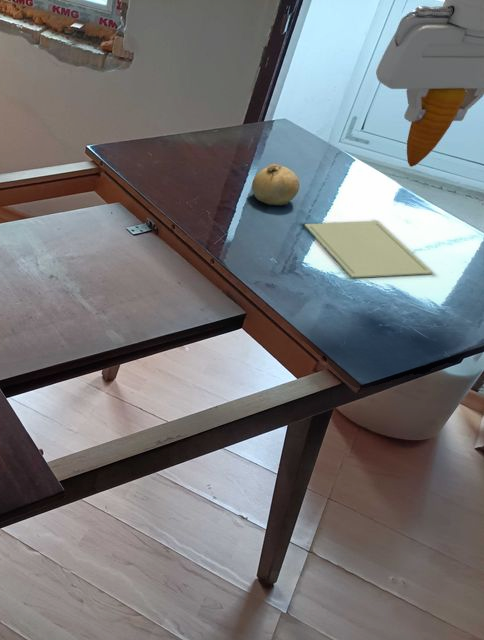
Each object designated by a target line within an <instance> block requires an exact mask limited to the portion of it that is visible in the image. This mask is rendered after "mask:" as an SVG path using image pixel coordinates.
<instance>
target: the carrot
mask: <svg viewBox="0 0 484 640" xmlns="http://www.w3.org/2000/svg"><path fill="white" fill-rule="evenodd" d="M465 96H466V91H465V89H429V90H428V92H427V95H426V96H425V97H421V104H422V107H424V108H425V109H427V110H426V112H425V115H423V119H422V121H418V122H410V127H409V131H408V135H407V140H406V159H407V163H408V166H409V167H411V168H413V167H414V166H415V167H416V166H417V165H418V164H419V163H420V162H421V161H423V160H424V159H425V158H427V156H429V154H430V153H431V152H432V151H433V150H434V149H435V148H436V147H437V145H438V144H439V143H440V142H441V140H442V138H443V137H444V136H445V134H446V133H447V131H448V130H449V128H450V127H451V125H452V124H453V122H454V121H453V120H454V118H455V116H456V114H457V112H458V110H459V108H460V107H461V105H462V103H463V101H464V99H465Z"/></svg>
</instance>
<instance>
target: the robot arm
mask: <svg viewBox="0 0 484 640" xmlns="http://www.w3.org/2000/svg"><path fill="white" fill-rule="evenodd" d="M375 76H376V80H377V81H378V82H379V83H380V84H382V85H384V86H385V87H386V88H388V89H391V90H406V96H407V97H406V98H407V105H408V106H407V108H406V110H405V113H404V117H403V118H404V119H405V120H406V121H408V122H409V123H411V122H418V121H422V119H423V115H425V112H426V110H427V109H425V108H424V107H422V104H421V97H425V96H426V95H427V92H428V90H429V89H465V91H466V96H465V99H464V101H463V103H462V105H461V107H460V108H459V110H458V112H457V114H456V116H455V118H454V120H453V122H462V121H463V120H464V119H465V117H466V114H467V113H468V110H470V109H471V108H472V107H473V106H474V105H475V104H476V103H477V102H479V101H480V100H481V99H482V98H483V97H484V0H444V2H443V4H442V6H427V5H421V6H417V7H416V8H415V9H413V10H411V11H409V12H408V13H407V14H406V15H404V16H403V17H402V18H401V20H400V21H399V23H398V26H397V27H396V31H395V32H394V33H393V36H392V38H391V39H390V41H389V43H388V44H387V47H386V49H385V51H384V52H383V54H382V57H381V59H380V61H379V63H378V65H377V68H376V71H375Z"/></svg>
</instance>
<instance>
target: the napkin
mask: <svg viewBox="0 0 484 640" xmlns="http://www.w3.org/2000/svg"><path fill="white" fill-rule="evenodd" d="M304 227H305V228H306V230H307V231H309V233H310V234H311V235H312V236H313V237H314V238H315V239H316V241H318V243H319V244H320V245H321V246H322V247H323V248H324V249H325V250H326V251H327V252H328V253H329V255H330V256H331V257H332V258H333V260H335V261H336V263H338V264H339V266H340V267H341V268H342V269H343V270H344V271H345V273H347V275H348V276H349V277H350V278H351V279H358V278H373V277H374V278H377V277H378V278H379V277H396V276H415V275H416V276H419V275H432V274H433V271H431V269H430V268H428V267H427V266H426V264H424V263H423V262H422V261H421V260H420V259H419V258H417V256H416V255H414V253H412V252H411V251H410V250H409V248H407V247H406V246H405V245H404V244H403V243H401V242H400V241H399V240H398V238H397V237H395V236H394V235H393V234H391V232H390V231H389V230H387V228H386V227H384V226H383V225H382V224H381V223H380V222H379V221H378V220H377V221H376V220H375V221H351V222H350V221H349V222H348V221H347V222H326V223H325V222H322V223H304Z"/></svg>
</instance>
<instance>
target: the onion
mask: <svg viewBox="0 0 484 640" xmlns="http://www.w3.org/2000/svg"><path fill="white" fill-rule="evenodd" d="M300 186H301V185H300V180H299V178H298V176H297V174H296V173H295V172H294V171H293V170H292V169H289V168H288V167H286V166H283V165H280V164H278V163H276V162H274V163H272V164H269V165H268V166H265V167H264V168H262V169H261V170H260V171H258V173H257V174H256V175H255V176H254V177H253V179H252V183H251V189H252V193H253V195H254V197H255V198H256V200H258V201H259V202H261V203H264V204H266V205H270V206H271V205H272V206H273V205H274V206H286V205H288V204H289V203H290V202H291V201H292V200H294V198H295V197H296V196H297V194H298V193H299V190H300Z"/></svg>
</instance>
